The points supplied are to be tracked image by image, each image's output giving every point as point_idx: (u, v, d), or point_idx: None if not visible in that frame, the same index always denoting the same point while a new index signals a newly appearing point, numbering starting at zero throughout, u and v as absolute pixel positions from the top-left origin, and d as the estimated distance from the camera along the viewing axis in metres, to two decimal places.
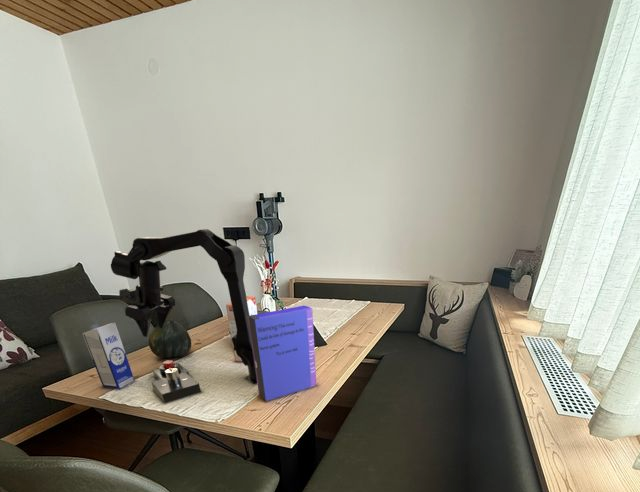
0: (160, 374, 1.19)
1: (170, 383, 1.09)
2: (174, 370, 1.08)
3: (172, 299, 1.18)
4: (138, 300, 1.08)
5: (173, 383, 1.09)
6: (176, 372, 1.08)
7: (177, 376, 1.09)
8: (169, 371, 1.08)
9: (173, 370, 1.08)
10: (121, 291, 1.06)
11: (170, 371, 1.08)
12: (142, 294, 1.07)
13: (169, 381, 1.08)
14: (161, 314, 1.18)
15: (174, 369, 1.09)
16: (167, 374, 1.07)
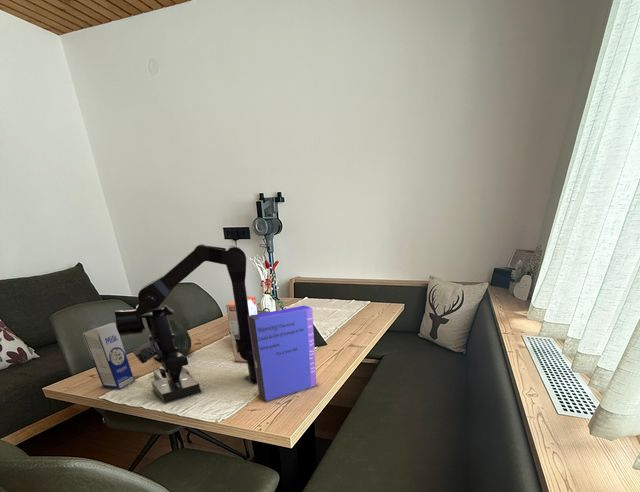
0: (160, 374, 1.19)
1: (170, 383, 1.09)
2: None
3: None
4: (160, 353, 1.02)
5: (173, 383, 1.09)
6: None
7: None
8: None
9: None
10: (143, 351, 0.98)
11: None
12: (162, 344, 1.02)
13: (169, 381, 1.08)
14: None
15: None
16: (167, 374, 1.07)
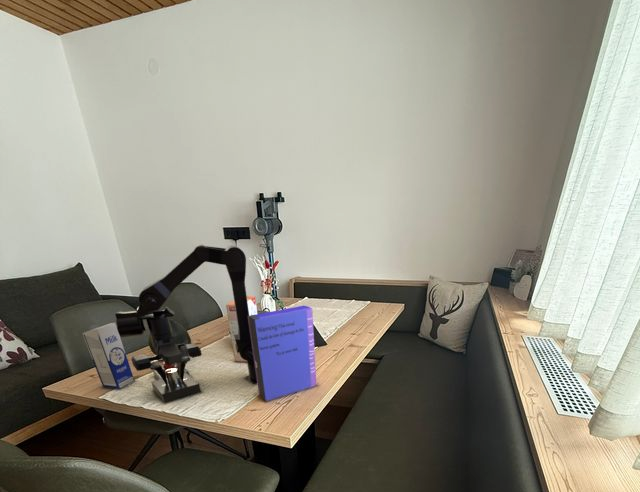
0: None
1: (178, 382, 1.10)
2: (172, 369, 1.09)
3: None
4: None
5: None
6: None
7: None
8: (173, 370, 1.08)
9: (172, 369, 1.09)
10: None
11: (173, 370, 1.08)
12: None
13: (178, 380, 1.09)
14: None
15: (169, 369, 1.09)
16: (176, 373, 1.08)
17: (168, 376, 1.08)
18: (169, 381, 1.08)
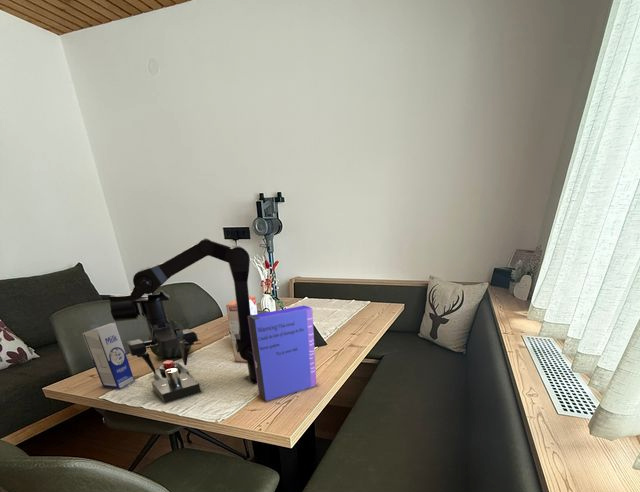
0: (160, 374, 1.19)
1: (178, 382, 1.10)
2: (172, 369, 1.09)
3: None
4: None
5: None
6: None
7: None
8: (173, 370, 1.08)
9: (172, 369, 1.09)
10: None
11: (173, 370, 1.08)
12: None
13: (178, 380, 1.09)
14: None
15: (169, 369, 1.09)
16: (176, 373, 1.08)
17: (168, 376, 1.08)
18: (169, 381, 1.08)
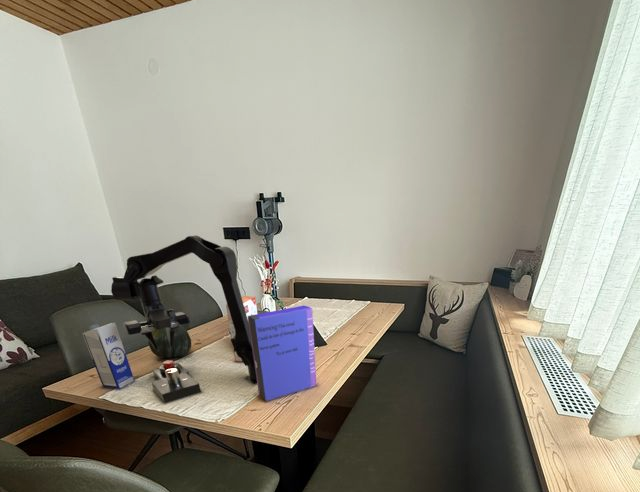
0: (160, 374, 1.19)
1: (178, 382, 1.10)
2: (172, 369, 1.09)
3: None
4: None
5: None
6: None
7: None
8: (173, 370, 1.08)
9: (172, 369, 1.09)
10: None
11: (173, 370, 1.08)
12: None
13: (178, 380, 1.09)
14: None
15: (169, 369, 1.09)
16: (176, 373, 1.08)
17: (168, 376, 1.08)
18: (169, 381, 1.08)
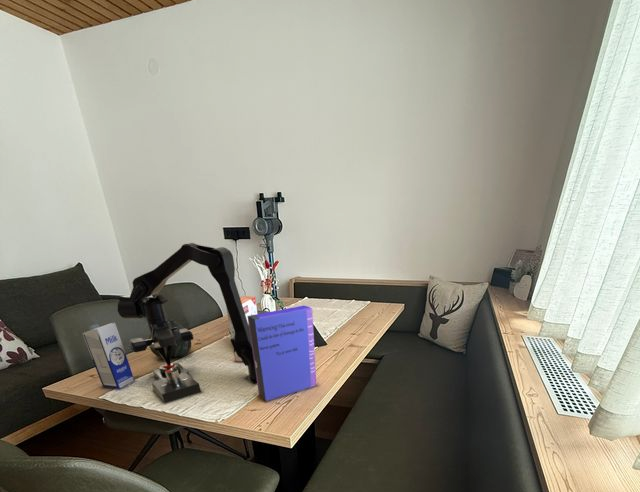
0: (160, 374, 1.19)
1: (178, 382, 1.10)
2: (172, 369, 1.09)
3: None
4: None
5: None
6: None
7: None
8: (173, 370, 1.08)
9: (172, 369, 1.09)
10: None
11: (173, 370, 1.08)
12: None
13: (178, 380, 1.09)
14: None
15: (169, 369, 1.09)
16: (176, 373, 1.08)
17: (168, 376, 1.08)
18: (169, 381, 1.08)
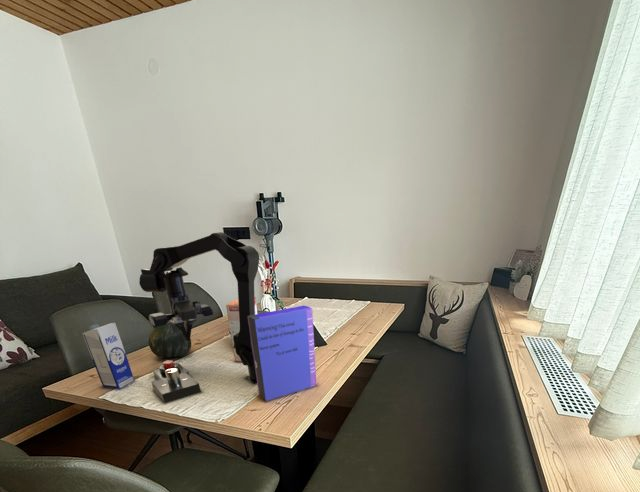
0: (160, 374, 1.19)
1: (178, 382, 1.10)
2: (172, 369, 1.09)
3: None
4: None
5: None
6: None
7: None
8: (173, 370, 1.08)
9: (172, 369, 1.09)
10: None
11: (173, 370, 1.08)
12: None
13: (178, 380, 1.09)
14: None
15: (169, 369, 1.09)
16: (176, 373, 1.08)
17: (168, 376, 1.08)
18: (169, 381, 1.08)
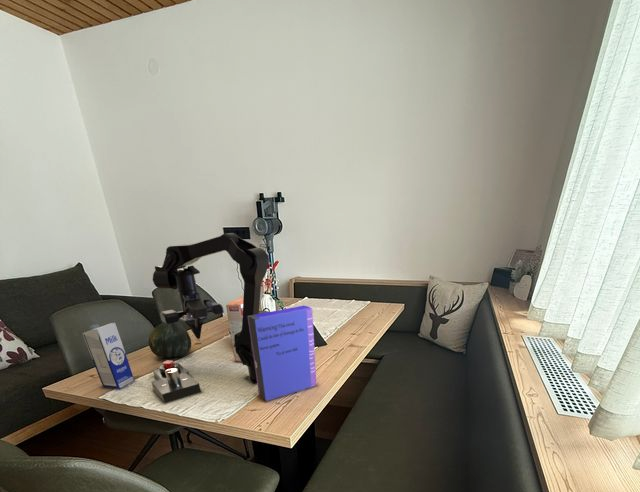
0: (160, 374, 1.19)
1: (178, 382, 1.10)
2: (172, 369, 1.09)
3: None
4: None
5: None
6: None
7: None
8: (173, 370, 1.08)
9: (172, 369, 1.09)
10: None
11: (173, 370, 1.08)
12: None
13: (178, 380, 1.09)
14: None
15: (169, 369, 1.09)
16: (176, 373, 1.08)
17: (168, 376, 1.08)
18: (169, 381, 1.08)
